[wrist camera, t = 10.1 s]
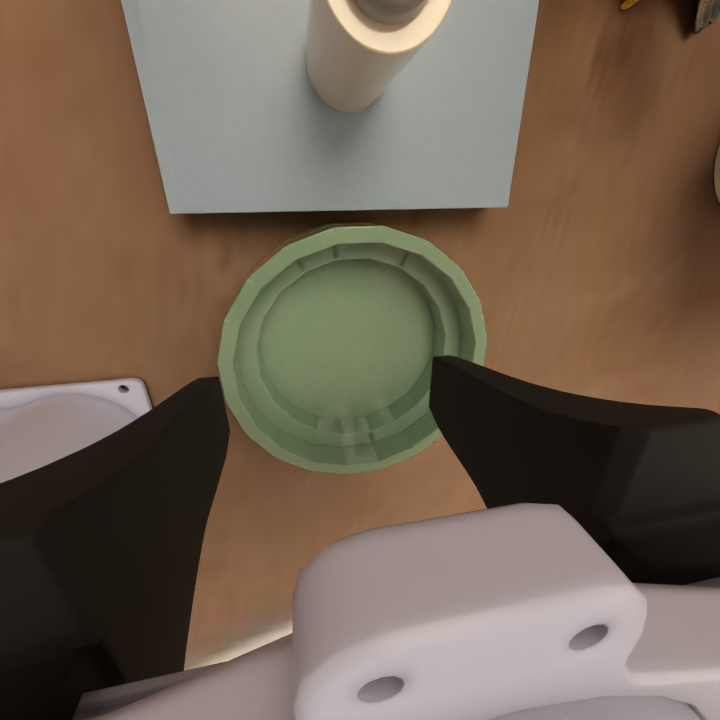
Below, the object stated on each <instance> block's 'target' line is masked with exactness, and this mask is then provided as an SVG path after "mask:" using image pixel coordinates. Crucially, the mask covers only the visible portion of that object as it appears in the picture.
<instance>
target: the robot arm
mask: <svg viewBox="0 0 720 720" xmlns="http://www.w3.org/2000/svg"><path fill="white" fill-rule="evenodd" d="M121 385H125V386H127V387H128V389H129V390H125V389H123V388H122V387H121ZM429 408H430V411H431V413H432V415H433V418H434V420H435V422H436V424H437V426H438V428H439V430H440V431H441V433H442V435H443V436H444V438H445V439H446V441H447V442H448V444H449V445H450V447H451V448H452V450H453V451H454V453H455V455H456V456H457V458H458V459H459V461H460V462H461V464H462V465H463V467H464V468H465V470H466V471H467V473H468V474H469V476H470V477H471V479H472V481H473V482H474V484H475V486H476V487H477V489H478V491H479V493H480V495H481V497H482V499H483V501H484V503H485V505H486V507H487V509H483V510H477V511H472V512H466V513H460V514H454V515H448V516H443V517H437V518H431V519H425V520H420V521H414V522H408V523H402V524H396V525H391V526H385V527H379V528H373V529H367V530H364V531H361V532H358V533H355V534H353V535H350V536H347V537H344V538H342V539H339V540H336V541H333V542H331V543H330V544H328V545H327V546H326V547H325V548H324V549H323V550H322V551H321V552H320V553H318V554H317V555H316V556H315V557H314V558H313V559H312V560H311V561H310V562H308V563H307V564H306V565H305V566H304V567H303V568H302V569H301V570H300V571H299V575H298V578H297V582H296V586H295V590H294V594H293V633H292V634H289V635H287V636H285V637H282V638H280V639H278V640H275V641H273V642H271V643H269V644H266V645H264V646H262V647H259V648H257V649H255V650H252V651H250V652H248V653H246V654H243V655H241V656H239V657H236V658H234V659H232V660H229V661H227V662H222V663H218V664H213V665H209V666H204V667H200V668H195V669H190V670H186V671H184V663H185V654H186V647H187V639H188V632H189V625H190V618H191V610H192V603H193V597H194V590H195V584H196V578H197V572H198V565H199V560H200V554H201V549H202V543H203V538H204V532H205V528H206V524H207V520H208V516H209V513H210V509H211V506H212V503H213V499H214V496H215V493H216V489H217V486H218V483H219V479H220V476H221V473H222V469H223V466H224V462H225V458H226V454H227V448H228V440H229V432H230V428H229V423H228V418H227V414H226V409H225V404H224V400H223V395H222V390H221V385H220V381H219V376H218V377H207V378H198V379H196V380H194V381H192V382H191V383H189V384H188V385H186V386H185V387H183V388H182V389H180V390H179V391H178V392H176V393H175V394H173V395H172V396H170V397H169V398H168V399H166V400H165V401H163V402H162V403H160V404H159V405H158V406H156V407H155V408H152V405H151V402H150V399H149V396H148V392H147V389H146V386H145V384H144V382H143V381H142V380H141V379H139V378H123V379H111V380H100V381H89V382H78V383H67V384H56V385H45V386H33V387H22V388H11V389H0V720H720V414H718V413H716V412H714V411H711V410H707V409H700V408H685V407H669V406H654V405H643V404H635V403H626V402H618V401H611V400H604V399H598V398H592V397H587V396H581V395H576V394H571V393H567V392H562V391H558V390H554V389H550V388H546V387H543V386H539V385H535V384H532V383H529V382H526V381H523V380H519V379H516V378H513V377H510V376H508V375H505V374H502V373H499V372H497V371H494V370H491V369H489V368H486V367H483V366H481V365H478V364H476V363H473V362H470V361H468V360H465V359H462V358H459V357H455V356H451V355H445V356H434V357H433V359H432V371H431V383H430V395H429Z"/></svg>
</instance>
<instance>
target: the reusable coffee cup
mask: <svg viewBox="0 0 720 720" xmlns="http://www.w3.org/2000/svg"><path fill="white" fill-rule="evenodd" d="M714 183H715V191H716V194H717V197H718V200H719V202H720V145H719V148H718V152H717V157H716V161H715V171H714Z"/></svg>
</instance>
